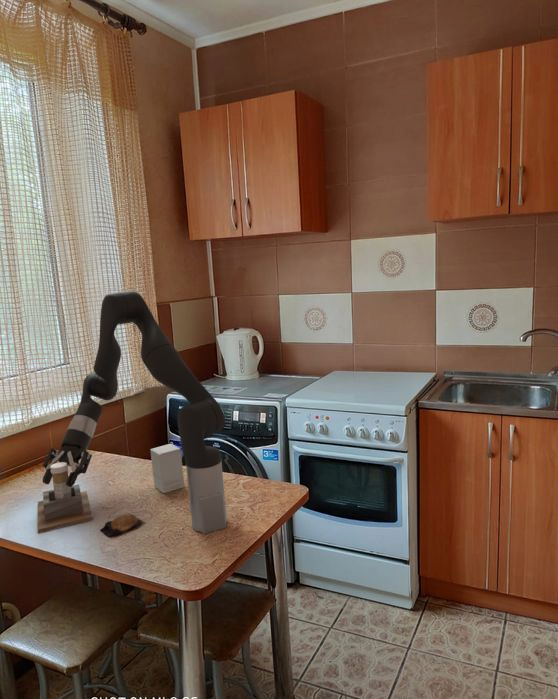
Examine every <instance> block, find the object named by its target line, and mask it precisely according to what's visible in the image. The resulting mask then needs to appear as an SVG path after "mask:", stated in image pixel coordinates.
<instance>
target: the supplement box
mask: <svg viewBox="0 0 558 699" xmlns="http://www.w3.org/2000/svg"><path fill="white" fill-rule="evenodd" d="M181 452H182V448H180V447H178V446H177V445H174V444H173V443H169V444H164V445H161V446H157V447H154V448H150V458H151V468H152V477H153V484H154V486H153V487H155V489H157V490H158V491H160V493H162V494H166V493H170V492H172V491H176V490H179V489H183V488H184V487H185V479H184V470H183V461H182V460H183V459H182V453H181Z"/></svg>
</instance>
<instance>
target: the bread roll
mask: <svg viewBox="0 0 558 699" xmlns="http://www.w3.org/2000/svg"><path fill="white" fill-rule="evenodd" d="M146 523H147V522H146V521H144V520H142V519H140V518H139V517H136V515H134V514H132V513H126V514H125V513H124V514H123V515H119V516H117V517H116V518H114V519H112V520H108V521H107V522H105V524H104V526H103V527H102V528H100V529H99V532H101V533H102V534H104V535H105V537H108V538H117V537H120V536H124V535H126V534H127V533H129V532H130V533H131V531H134V530H136V529H139V528H140V527H142V526H143V525H146Z"/></svg>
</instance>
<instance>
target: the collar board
mask: <svg viewBox="0 0 558 699" xmlns="http://www.w3.org/2000/svg"><path fill="white" fill-rule="evenodd" d="M70 489H71V497H68V498H63V499H58V500H56V499H55V493H54V489H51V490H47V491H42V497H43V498H42V500H39V501H37V531H38V533H39V534H40V533H43V532H47V531H53V530H56V529H60V528H65V527H69V526H72V525H78V524H82V523H87V522H89V521H94V520H93V513H92V509H91V506H90V500H89V497H88V491H87V490H85V491H81V488H80V484H74V485H73V486H72V487H70Z"/></svg>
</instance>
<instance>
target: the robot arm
mask: <svg viewBox="0 0 558 699" xmlns="http://www.w3.org/2000/svg"><path fill="white" fill-rule="evenodd" d="M99 319H100V320H99V338H98V340H99V341H98V347H97V352H96V355H95V356H96V357H95V360H94V364H93V372H91V373H89V374H87V375H86V376H85V377H84V380H83V384H82V393H81V398H80V403H79V406H78V407H77V409H76V412H75V413H74V416H73V418H72V419H71V421H70V423H69V424H68V427H67V429H66V432H65V433H64V436H63V438H62V440H61V447H60V449H55V448H53V447H52V448H50V450H49V452H48V454H47V456H46V457H45V460H44V461H43V463H42V467H43V469H44V468H45V469H46V471H45V473H44V475H43V478H42V483H43V484H45V485H49V484H50V483H51V481H52V480H53V477H52V473H51V468H50V467H51V465H53V464H55V463H59V462H66V463H67V466H68V467H70V469H71V471H70V473H69V474H68V479H67V482H66V485H67V486H68V487H72V486H74V485H76V484H75V483H76V480H77V479H78V476H79V475H81V474H86V473H87V471H88V467H89V465H90V462H91V460H92V457H93V454H91V453H90V452H89V451H87V450H88V447H89V444H91V440H92V438H93V436H94V434H95V432H96V427H97V424H98V422H99V420H100V418H101V416H102V413H103V406H102V405H101V404H100V403H98V401H96V400H93V398H91V396H92V397H95V398H97V399H100V400H103V401H111V400H113V399H114V398H115V397H116V396H117V393H118V388H119V385H118V384H119V383H118V369H119V364H120V363H121V362H120V361H121V358H122V351H121V347H120V344H119V342H118V340H117V338H116V335H115V332H116V328H117V326H118V325H125V324H131V323H133V324H134V325H135V326H136V327H137V328H138V330H139V332H140V333H141V343H140V344H141V345H140V346H141V347H140V356H141V357H140V358H141V360H142V362H143V364H144V366H145V367H146V368H147V370H148V371H149V373H150V374H151V376H152V377H153V378H154V379H155V380H156V381H157V382H159V383H160V384H161V385H163V386H165V387H167V388H168V389H171V390H172V391H174V392H176V393H178V394H179V395H180V396H182V397H183V398H184V399H186V401H188V404H186V405H183V406H182V407H180V408H179V411H178V414H177V427H178V433H179V440H180V441H179V442H180V447H181V452H182V454H183V457H184V460H185V470H186V479H187V480H186V481H187V490H188V498H189V499H188V500H189V509H190V517H191V527H192V528H193V530H195V531H197V532H201V533H202V534H209V533H212V532H216V531H219V530H222V529H225V528H227V527H226V526H227V524H228V518H227V517H228V516H227V508H226V507H227V506H226V500H225V498H226V496H225V487H224V478H223V477H224V475H223V473H224V472H223V465H222V464H223V463H222V462H223V461H222V454H221V450H220V449H219V448H218V447H215V446H210V445H209V446H208V445H206V443H205V438H206V437H209V436H211V435H212V436H213V435H215V434H217V433H219V432H221V431H222V430H223V429H224V428H225V425H226V417H225V413H224V410H223V409H222V407H221V406H220V404H219V403H218V401H217V400H216V399H215V397H213V395H212V394H211V393H210V391H208V390H207V389H206V388H205V387H204V385H203V384H202V382H200V381H199V379H198V378H197V377H196V376H195V374H194V373H193V371H192V370H191V369H190V368H189V367H188V365H187V364H186V362H185V361H184V359H183V358H182V356H181V355H180V353H179V352H178V350H177V349H176V348H175V346H174V345H173V343H171V341H170V340H169V338H168V337H167V336H166V334H165V332H164V331H163V330H162V328H161V327H160V325H159V324H158V322H157V319H155V317H154V315H153V313H152V311H151V309H150V308H149V306H148V304H147V303H146V301H145V299H144V298H143V296H142V295H141V294H140V293H139V292H138V291H136V290H125V291H122V290H121V291H116V292H109V293H107V294H105V296H104V297H103V299H102V302H101V308H100V318H99Z"/></svg>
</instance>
